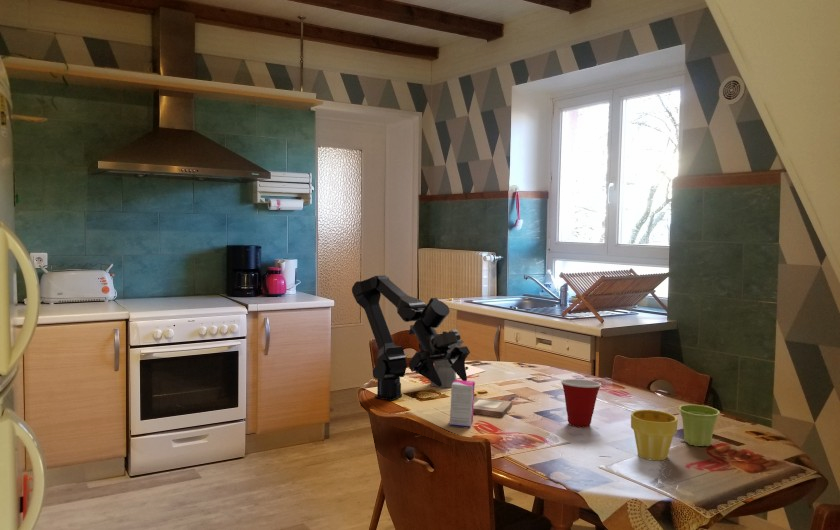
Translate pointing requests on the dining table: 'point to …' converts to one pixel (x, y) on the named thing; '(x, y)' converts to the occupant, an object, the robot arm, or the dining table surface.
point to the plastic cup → (580, 400)
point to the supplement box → (462, 403)
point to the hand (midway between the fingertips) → (453, 383)
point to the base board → (491, 406)
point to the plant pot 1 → (653, 433)
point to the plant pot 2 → (698, 424)
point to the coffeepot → (445, 369)
